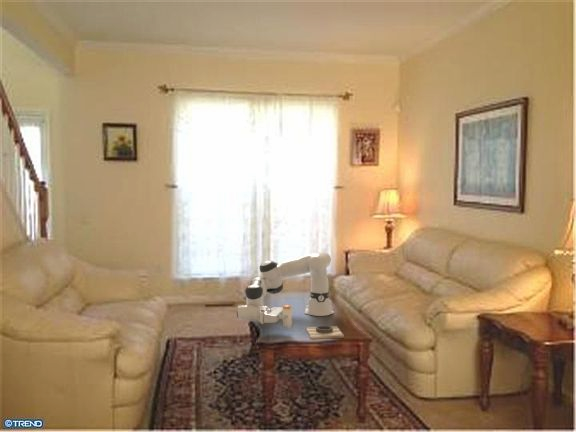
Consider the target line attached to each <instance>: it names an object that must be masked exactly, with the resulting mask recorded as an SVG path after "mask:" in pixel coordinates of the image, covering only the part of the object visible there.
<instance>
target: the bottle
mask: <svg viewBox="0 0 576 432" xmlns="http://www.w3.org/2000/svg"><path fill="white" fill-rule="evenodd" d="M292 309H293V308H292V305H289V304H285V305H282V311H283V315H288V318H287V319H282V328H291V327H292V325H293V324H292V323H293V322H292V321H293V317H292V313H293V311H292Z"/></svg>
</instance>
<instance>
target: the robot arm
mask: <svg viewBox="0 0 576 432" xmlns="http://www.w3.org/2000/svg"><path fill="white" fill-rule="evenodd" d="M331 262H332V258H331V255H330V254H329V253H328V252H325V251H319V252H316V253H312V254H311V253H310V254H306V255H304V256H299V257H296V258H291V259H286V260H285V261H282V262H275V261H274V260H265V261H263V262H262V263H260V265H259V272H260V274H261V276H257V277H254V278H253V279H252V280H250V281H251V282H250V283H249V285H247V287H246V288H245V289H244V292H245V300H246V304H244V305H238V306H237V307H236V318H237V320H240V321H243V322H259V324H274V323H277V322H278V321H279V320H283V319H287V318H288V315H283V311H282V308H283V306H282V307H275V306H273V307H269V305H264V298H265V296H266V295H267V293H268V294H271V295H275V294H279V293H280V292H282V291H283V289H284V283H283V281H282V278H293V277H297V276H302V275H307V274H308V273H309V275H310V291H309V293H310V294H309V297H310V298H309V299H308V301H306V304H305V305H306V308H305V310H304V314H305V315H311V316H317V317H321V316H322V317H324V316H325V317H326V316H329V315H332V314H335V311H334V310H333V309H332V300H331V299H330V292H329V278H328V273H327V269H328V267H329V266H330V264H331Z"/></svg>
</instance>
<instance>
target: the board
mask: <svg viewBox="0 0 576 432" xmlns="http://www.w3.org/2000/svg"><path fill="white" fill-rule="evenodd" d="M305 330H306V331H307V332H306V333H307V334H308V336H309V338H310V340H311V339H313V340H314V339H341V338H343V339H344V337H345V335H344V333H343V332H342V331H341V329H340V328H339V327H338V326H337V325H335V326H332V325H331V326H330V325H318V326H306V327H305Z"/></svg>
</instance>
